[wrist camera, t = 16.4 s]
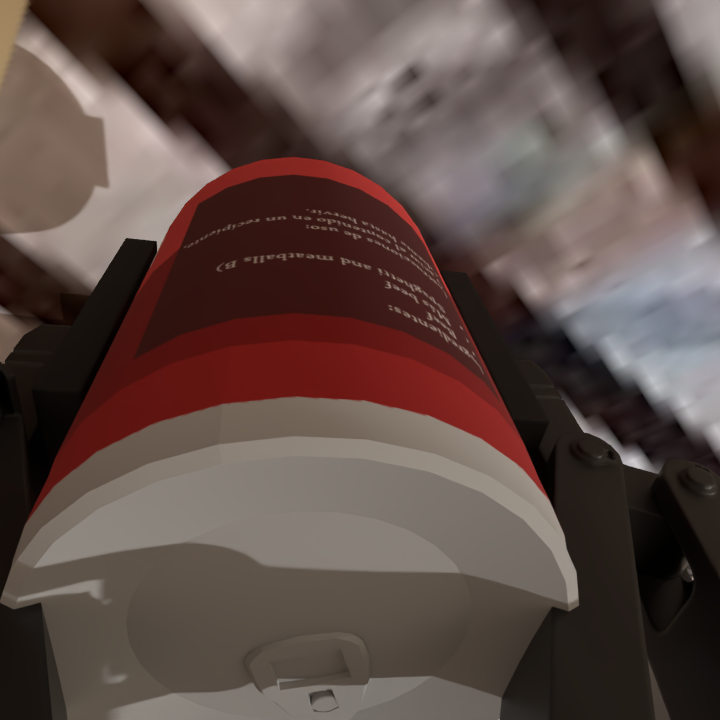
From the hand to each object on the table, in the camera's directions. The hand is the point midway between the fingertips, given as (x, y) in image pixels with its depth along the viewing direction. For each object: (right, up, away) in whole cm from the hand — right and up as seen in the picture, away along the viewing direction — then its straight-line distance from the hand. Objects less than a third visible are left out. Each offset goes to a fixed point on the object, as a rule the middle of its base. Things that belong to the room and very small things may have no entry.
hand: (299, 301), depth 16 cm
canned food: (0, +1, +1) cm, 1 cm away
